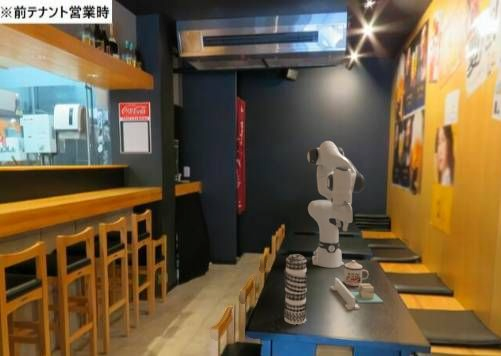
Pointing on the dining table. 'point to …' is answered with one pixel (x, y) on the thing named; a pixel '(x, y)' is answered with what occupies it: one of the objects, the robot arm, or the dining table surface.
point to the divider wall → (345, 295)
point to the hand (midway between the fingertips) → (341, 228)
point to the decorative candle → (295, 289)
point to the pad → (360, 300)
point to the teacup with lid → (353, 273)
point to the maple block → (366, 291)
